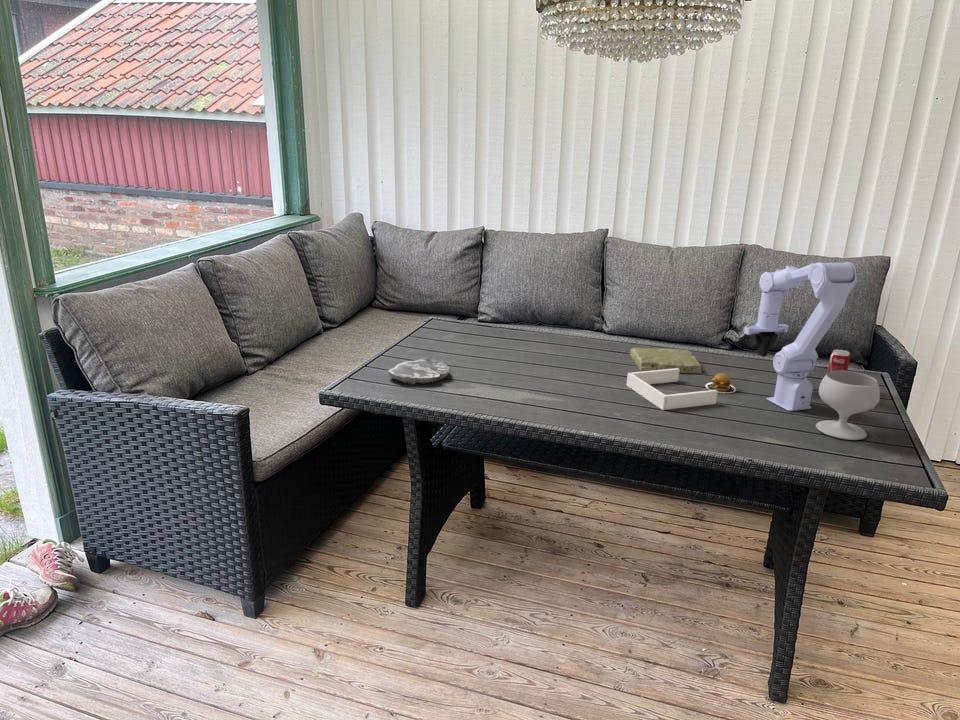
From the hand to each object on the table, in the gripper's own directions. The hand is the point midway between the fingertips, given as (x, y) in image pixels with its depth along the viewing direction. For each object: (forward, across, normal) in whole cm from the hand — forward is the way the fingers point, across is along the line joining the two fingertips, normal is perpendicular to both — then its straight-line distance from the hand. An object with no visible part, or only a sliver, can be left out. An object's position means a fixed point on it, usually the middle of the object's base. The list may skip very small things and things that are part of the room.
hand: (762, 355), depth 211 cm
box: (+10, +31, 0) cm, 32 cm away
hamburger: (+10, +13, 0) cm, 17 cm away
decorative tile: (+10, +17, -25) cm, 32 cm away
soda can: (+10, -21, +9) cm, 25 cm away
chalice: (+10, +2, +35) cm, 36 cm away
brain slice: (+10, +98, -33) cm, 104 cm away
